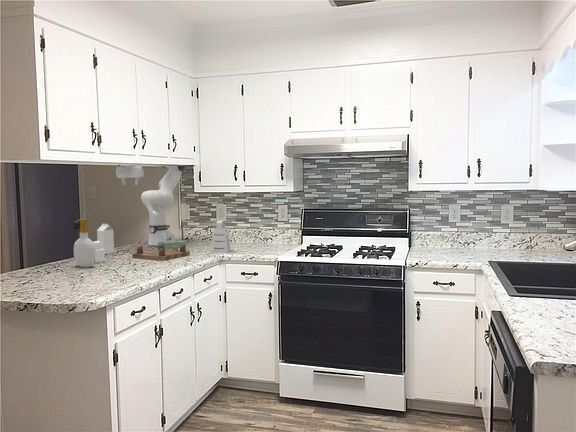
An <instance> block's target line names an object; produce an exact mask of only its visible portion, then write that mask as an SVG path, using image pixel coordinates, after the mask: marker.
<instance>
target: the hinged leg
mask: <svg viewBox="0 0 576 432" xmlns="http://www.w3.org/2000/svg"><path fill="white" fill-rule="evenodd" d="M180 245H186V241H185V240H175V241H173V242H158V245H157V249H160V248H165V249H171V247H172V246H175V247H178V249H180Z"/></svg>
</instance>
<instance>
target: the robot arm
mask: <svg viewBox="0 0 576 432" xmlns="http://www.w3.org/2000/svg"><path fill="white" fill-rule="evenodd" d="M115 166H116V168H115V176H116V178H117V179H120V180H121V182H122V185H123V186H126V185H127V182H126V179H130V178H131V179H133V178H134V179H135V181H134V182H133V183H134V184H133V185H134V186H137V185H139V181H140V178H141V179H143V178H144V175H145V173H144V168H143V164H141V165H116V164H115ZM187 166H188V165H187ZM187 166H161V167H162V168H165V169H168V170H167V171H166V173H165V174H164V175H163V177H162V178H161V179H160V180H159V183H158V187H159V189H158V190H157V189H156V190H154V189H152V190H151V189H150V190H146V191H143V192H142V194H141V196H140V201H141V202H142V204H143V205H145V207H146V209H147V211H148V214H149V215H148V216H149V227H148V228H149V238H148V242H147V243H148V244H147V245H149V246H157V247H158V242H173V241H176V237H175V234H174V233H173V232H171V230H169V229H170V228H171V225H170V224H167V220H166V219H167V217H166V213H165V212H164V211H163V210H162V208H161V207H164V206H165V207H167V206H170V205H172V204H173V202H174V201H175V199H174V194H173V191H174V189H175V188H176V186H177V185H178V183H179V181H180V180H181V178H182V172H183V171H185V169H186V168H187Z"/></svg>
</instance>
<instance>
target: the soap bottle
mask: <svg viewBox="0 0 576 432" xmlns="http://www.w3.org/2000/svg"><path fill="white" fill-rule="evenodd" d="M87 220H88V219H87V218H79V219H78V220H76V221H75V223H77V222H79V224H80V226H79V238H78V239H77V240H75V242H74V245H73V257H74V261H75V263H76V265H77V266H78V267H81V268H91V267H92V266H93V265H94V264H95V263H94V259H95V246H94V243H93V242H92V241H93V240H92V239H90V238H89V233H88V226H87Z"/></svg>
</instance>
